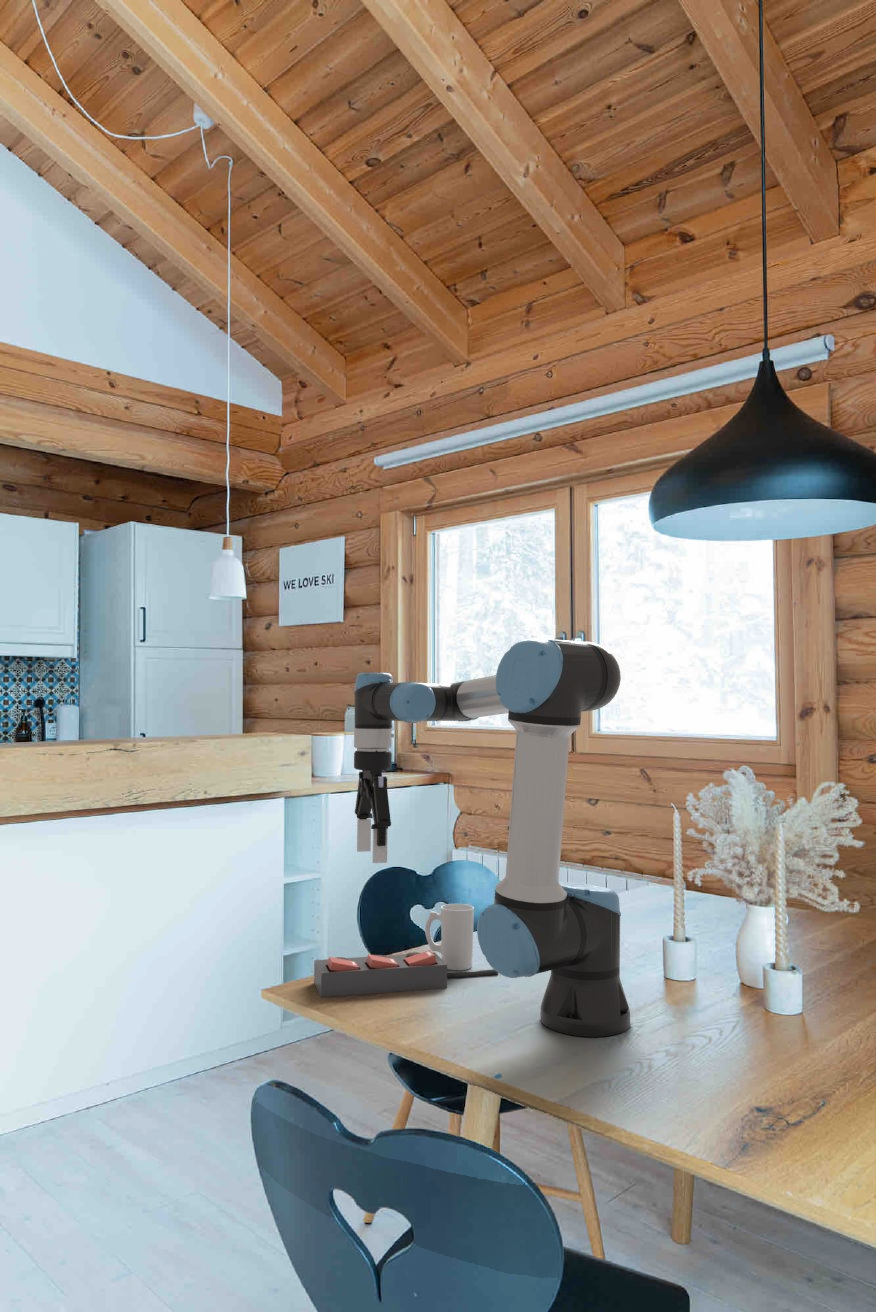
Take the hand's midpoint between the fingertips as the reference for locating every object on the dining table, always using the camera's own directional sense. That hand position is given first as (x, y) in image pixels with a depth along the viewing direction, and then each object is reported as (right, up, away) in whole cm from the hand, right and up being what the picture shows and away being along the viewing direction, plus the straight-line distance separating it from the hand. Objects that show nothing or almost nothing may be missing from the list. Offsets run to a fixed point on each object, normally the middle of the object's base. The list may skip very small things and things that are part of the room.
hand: (371, 856), depth 189 cm
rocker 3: (+10, -18, -7) cm, 22 cm away
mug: (+16, -24, +6) cm, 29 cm away
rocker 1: (-5, -18, -11) cm, 22 cm away
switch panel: (+8, -23, -6) cm, 25 cm away
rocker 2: (+3, -18, -9) cm, 20 cm away
